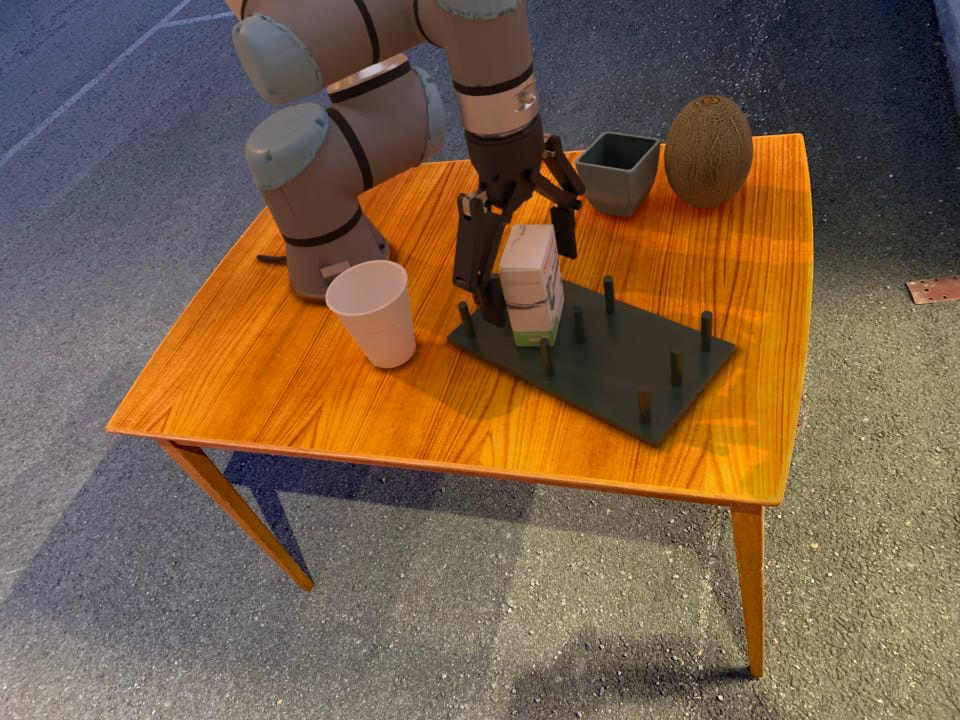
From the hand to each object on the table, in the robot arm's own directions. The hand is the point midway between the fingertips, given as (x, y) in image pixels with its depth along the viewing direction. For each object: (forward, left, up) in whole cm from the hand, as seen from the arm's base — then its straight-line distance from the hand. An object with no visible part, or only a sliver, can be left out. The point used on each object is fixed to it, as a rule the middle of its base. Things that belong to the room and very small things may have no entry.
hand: (531, 287), depth 81 cm
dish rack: (+7, 0, -6) cm, 9 cm away
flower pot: (-5, +26, -7) cm, 27 cm away
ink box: (0, 0, -6) cm, 6 cm away
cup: (-13, -13, -7) cm, 20 cm away
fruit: (+5, +32, -7) cm, 33 cm away
